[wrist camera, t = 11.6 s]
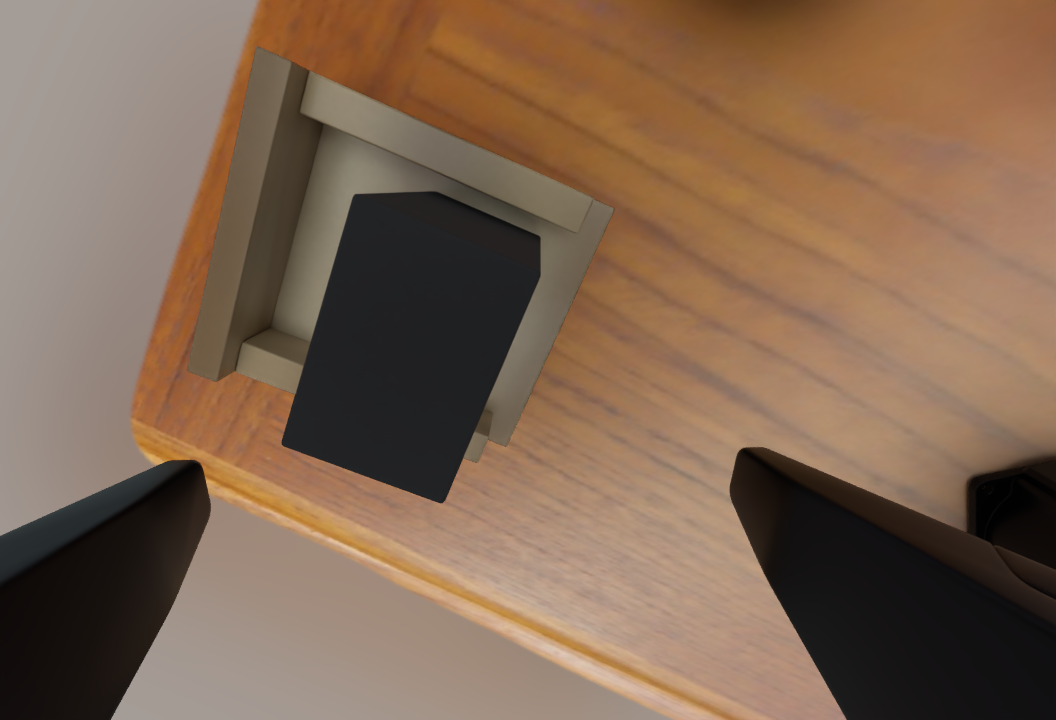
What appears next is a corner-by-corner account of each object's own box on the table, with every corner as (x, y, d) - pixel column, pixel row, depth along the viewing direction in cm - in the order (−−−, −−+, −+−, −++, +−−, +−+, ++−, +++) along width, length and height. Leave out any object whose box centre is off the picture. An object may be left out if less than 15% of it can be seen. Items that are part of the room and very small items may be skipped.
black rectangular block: (541, 236, 18) (542, 272, 10) (480, 383, 20) (443, 506, 12) (434, 189, 17) (352, 191, 10) (381, 344, 19) (278, 446, 12)
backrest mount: (605, 205, 20) (630, 212, 15) (510, 415, 23) (500, 489, 18) (339, 87, 19) (255, 44, 14) (276, 324, 22) (185, 371, 17)
